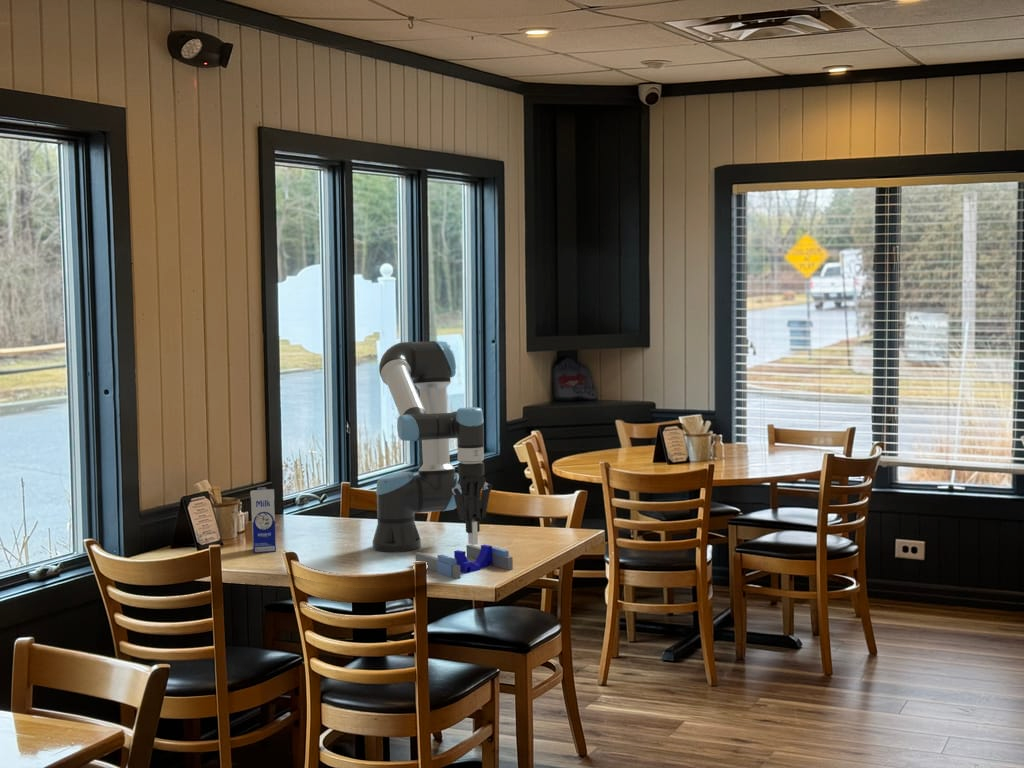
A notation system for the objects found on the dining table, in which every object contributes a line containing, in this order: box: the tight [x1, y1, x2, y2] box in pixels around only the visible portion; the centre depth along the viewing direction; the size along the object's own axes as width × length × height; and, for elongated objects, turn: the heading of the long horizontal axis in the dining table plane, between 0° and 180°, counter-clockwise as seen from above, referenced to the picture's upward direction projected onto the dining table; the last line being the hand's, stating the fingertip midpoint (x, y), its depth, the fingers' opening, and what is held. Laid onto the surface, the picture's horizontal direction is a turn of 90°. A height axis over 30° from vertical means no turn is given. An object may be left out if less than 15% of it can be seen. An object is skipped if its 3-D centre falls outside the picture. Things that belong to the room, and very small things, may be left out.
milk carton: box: [249, 486, 277, 554], centre depth 377 cm, size 7×7×20 cm
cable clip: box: [453, 544, 493, 574], centre depth 345 cm, size 12×4×6 cm, turn 134°
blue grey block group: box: [415, 544, 514, 580], centre depth 347 cm, size 23×19×5 cm
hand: (473, 543), depth 342 cm, fingers closed
